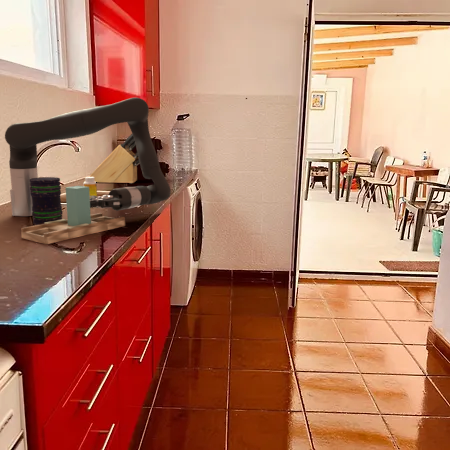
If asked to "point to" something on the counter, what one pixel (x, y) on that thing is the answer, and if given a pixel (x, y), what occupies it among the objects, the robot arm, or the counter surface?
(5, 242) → the counter surface
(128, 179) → the knife block
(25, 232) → the box
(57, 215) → the navy cylinder
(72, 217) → the teal block
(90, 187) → the supplement bottle
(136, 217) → the counter surface
